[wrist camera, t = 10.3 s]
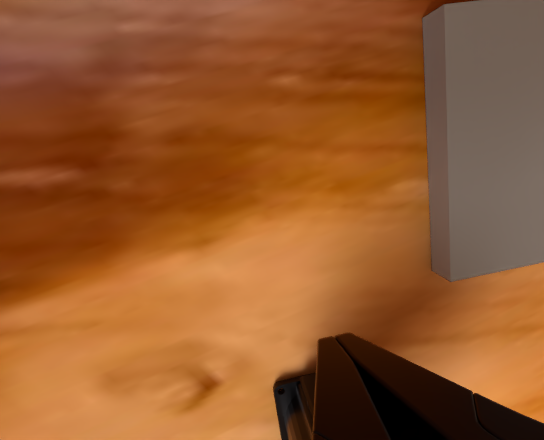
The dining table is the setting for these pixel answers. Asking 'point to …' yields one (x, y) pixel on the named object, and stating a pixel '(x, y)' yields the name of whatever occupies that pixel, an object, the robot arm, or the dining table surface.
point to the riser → (485, 135)
